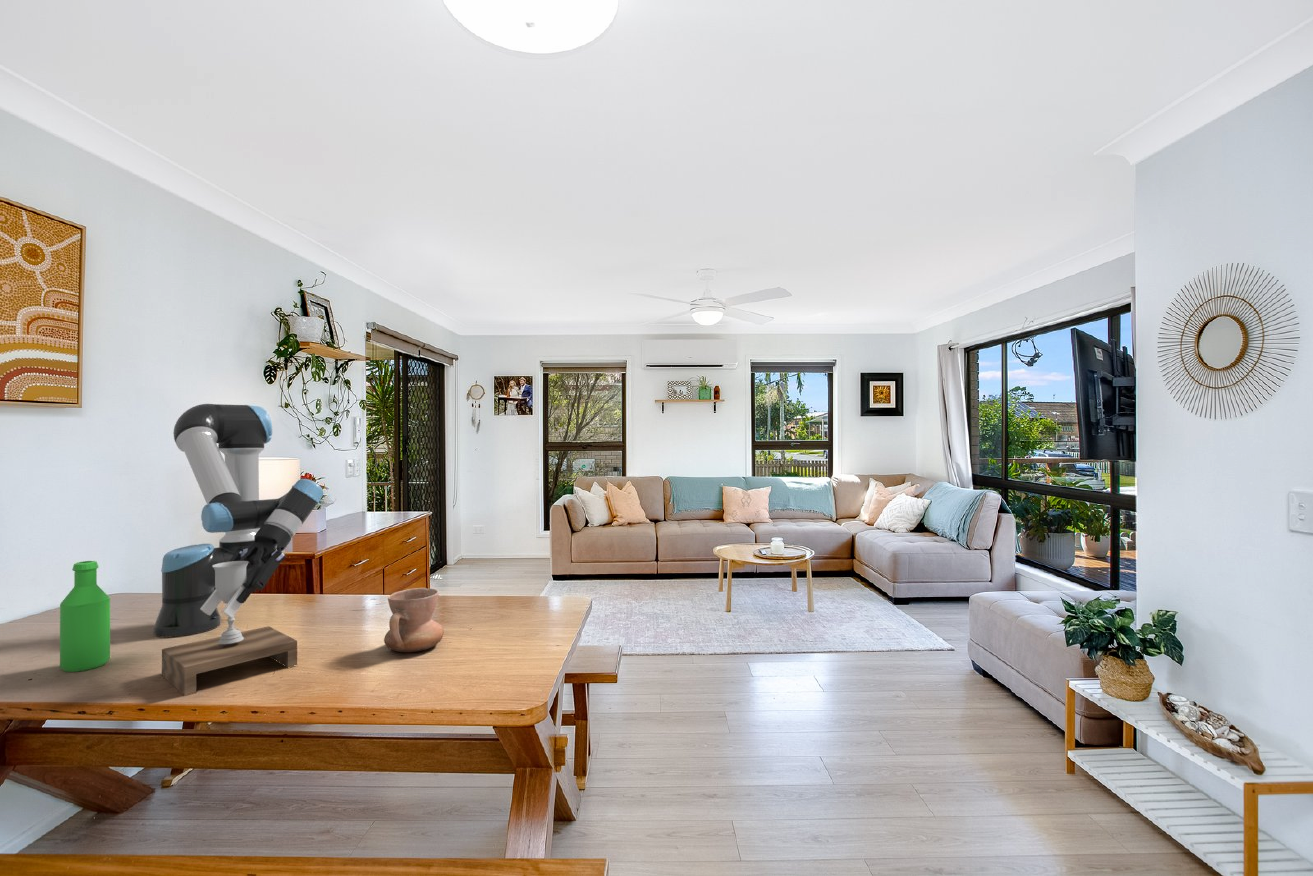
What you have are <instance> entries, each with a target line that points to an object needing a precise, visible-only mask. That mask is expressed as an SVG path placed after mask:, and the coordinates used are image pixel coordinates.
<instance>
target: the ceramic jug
mask: <svg viewBox="0 0 1313 876" xmlns="http://www.w3.org/2000/svg"><path fill="white" fill-rule="evenodd" d="M438 599H439V590H438V589H435V588H426V587H418V588H417V587H416V588H408V589H405V590H399V591H395V592H393V593H392V594H389V596H387V601H388V607H389V609H390V612H391V614H392V615H391V616H390V618H389V621H388V624H389V629H388V631H387V632H386V633H385V635H384V637H383V642H384V645H385V646H386V647H387V648H388V649H390V650H392V651H394V652H400V653H416V652H421V651H425V650H428V649H430V648H433V647H434V646H436V645H438V643H440V642H441V641H442V639H443V636H444V632H445V631H444V628H443V626H442V625H441V624H440V623H439V622H436V621H435V620H433V619H432V617H433V615H434V612H435V610H436V607H437V604H438Z"/></svg>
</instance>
